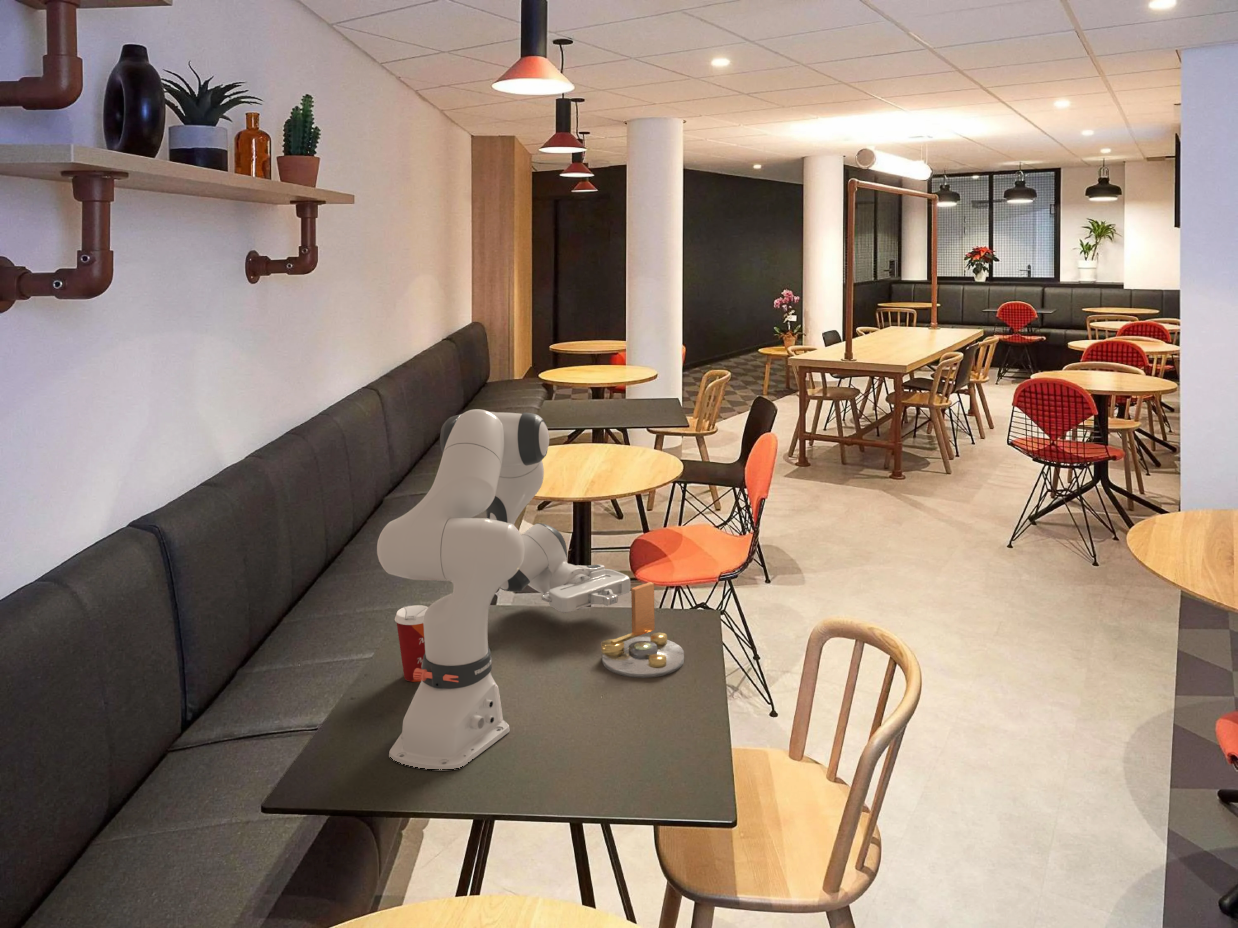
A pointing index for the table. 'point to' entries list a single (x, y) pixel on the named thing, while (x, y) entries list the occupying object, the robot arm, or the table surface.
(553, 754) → the table surface
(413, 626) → the paper cup
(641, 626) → the vane knob
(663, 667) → the levelling base
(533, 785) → the table surface
